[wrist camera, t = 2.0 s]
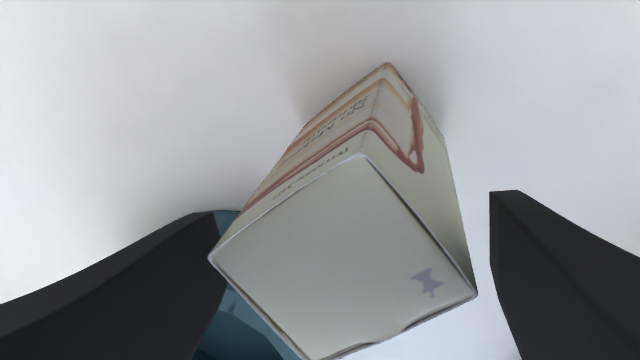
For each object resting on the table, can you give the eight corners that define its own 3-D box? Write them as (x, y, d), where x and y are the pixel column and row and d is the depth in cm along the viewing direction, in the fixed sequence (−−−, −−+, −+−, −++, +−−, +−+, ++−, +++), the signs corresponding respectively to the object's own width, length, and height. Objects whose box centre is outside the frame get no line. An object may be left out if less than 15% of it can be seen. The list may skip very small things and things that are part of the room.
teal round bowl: (320, 202, 20) (294, 272, 15) (351, 367, 24) (340, 462, 20) (122, 216, 23) (45, 280, 18) (184, 363, 27) (137, 446, 22)
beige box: (387, 55, 16) (374, 137, 7) (447, 138, 17) (498, 298, 8) (294, 127, 18) (195, 259, 10) (351, 198, 20) (311, 376, 11)
